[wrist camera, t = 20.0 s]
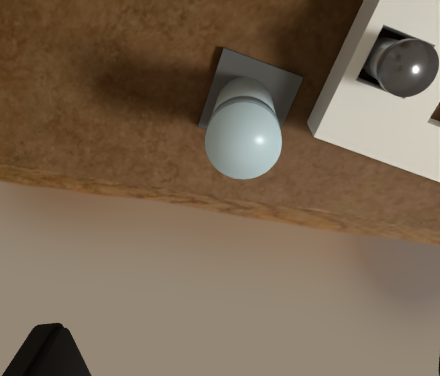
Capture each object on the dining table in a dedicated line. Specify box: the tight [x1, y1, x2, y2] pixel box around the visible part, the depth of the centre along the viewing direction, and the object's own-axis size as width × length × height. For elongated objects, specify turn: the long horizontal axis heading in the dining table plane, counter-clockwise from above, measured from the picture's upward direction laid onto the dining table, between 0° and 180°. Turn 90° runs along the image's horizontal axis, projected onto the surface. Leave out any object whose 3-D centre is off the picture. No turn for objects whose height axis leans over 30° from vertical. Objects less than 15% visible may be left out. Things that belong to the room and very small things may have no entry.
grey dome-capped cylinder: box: [363, 37, 439, 97], centre depth 27 cm, size 4×4×6 cm
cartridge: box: [205, 77, 282, 179], centre depth 28 cm, size 5×5×10 cm
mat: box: [198, 47, 303, 130], centre depth 33 cm, size 7×7×1 cm
